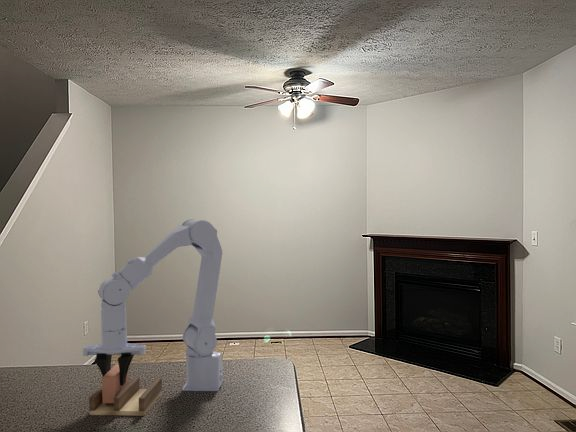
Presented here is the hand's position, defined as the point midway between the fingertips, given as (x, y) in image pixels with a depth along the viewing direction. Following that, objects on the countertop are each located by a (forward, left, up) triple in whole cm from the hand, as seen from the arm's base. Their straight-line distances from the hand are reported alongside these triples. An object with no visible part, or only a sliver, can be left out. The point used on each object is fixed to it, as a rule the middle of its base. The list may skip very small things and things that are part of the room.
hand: (115, 384), depth 118 cm
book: (0, 0, -3) cm, 3 cm away
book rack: (-3, 0, -5) cm, 6 cm away
